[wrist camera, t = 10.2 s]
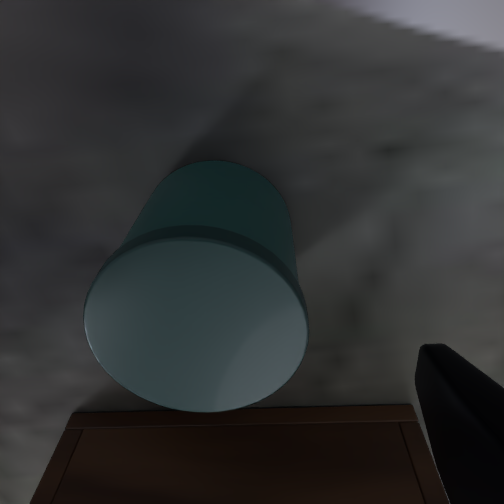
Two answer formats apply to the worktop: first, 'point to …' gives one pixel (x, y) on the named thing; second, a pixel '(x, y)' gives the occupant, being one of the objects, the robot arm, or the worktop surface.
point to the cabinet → (244, 458)
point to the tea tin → (202, 294)
